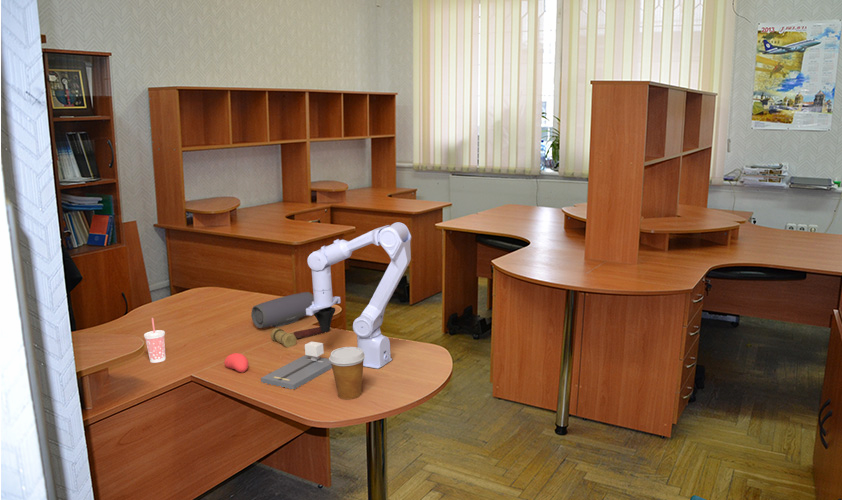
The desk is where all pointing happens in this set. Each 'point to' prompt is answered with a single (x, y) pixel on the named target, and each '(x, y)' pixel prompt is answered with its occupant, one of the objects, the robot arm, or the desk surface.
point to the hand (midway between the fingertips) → (325, 331)
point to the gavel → (293, 335)
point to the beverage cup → (155, 344)
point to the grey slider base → (297, 372)
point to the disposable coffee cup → (348, 371)
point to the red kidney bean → (236, 362)
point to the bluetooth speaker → (281, 310)
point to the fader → (314, 350)
